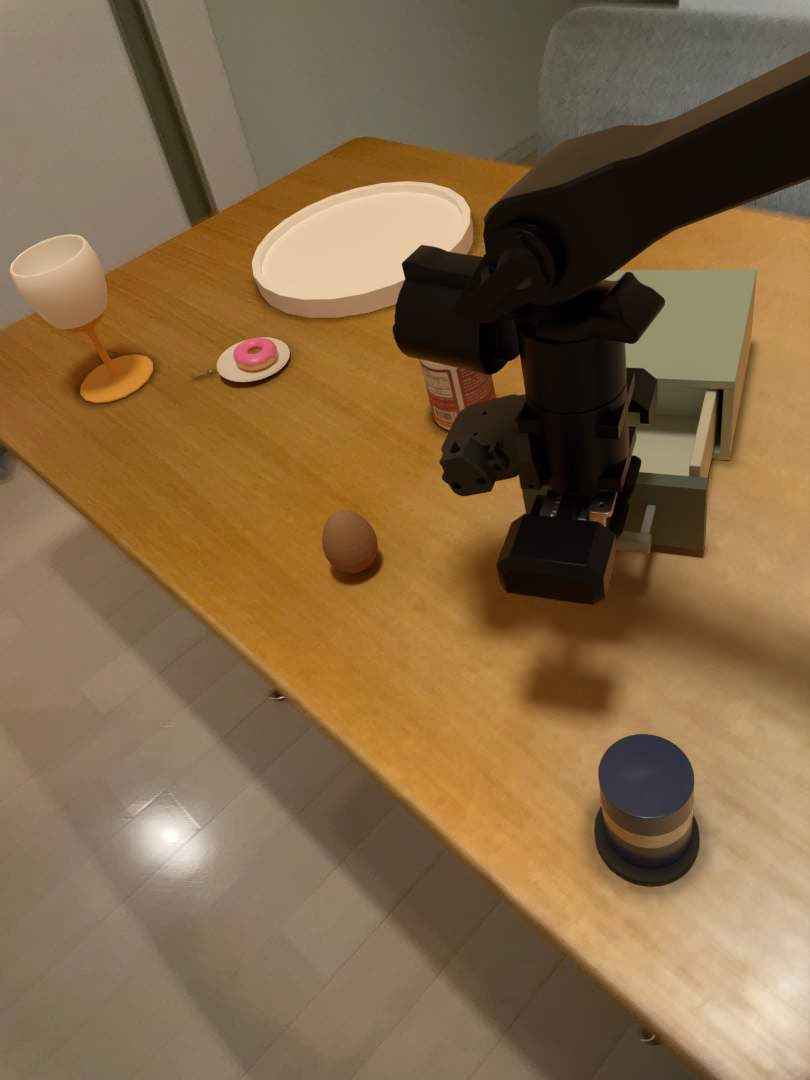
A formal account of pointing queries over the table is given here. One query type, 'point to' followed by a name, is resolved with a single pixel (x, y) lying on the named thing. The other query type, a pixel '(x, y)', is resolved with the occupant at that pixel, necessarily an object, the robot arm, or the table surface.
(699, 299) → the pale olive box
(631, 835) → the can
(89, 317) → the cup
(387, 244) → the plate
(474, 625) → the table surface
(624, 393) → the robot arm
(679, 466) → the drawer
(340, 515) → the egg
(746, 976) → the table surface
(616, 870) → the coaster
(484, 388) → the pill bottle
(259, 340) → the donut
